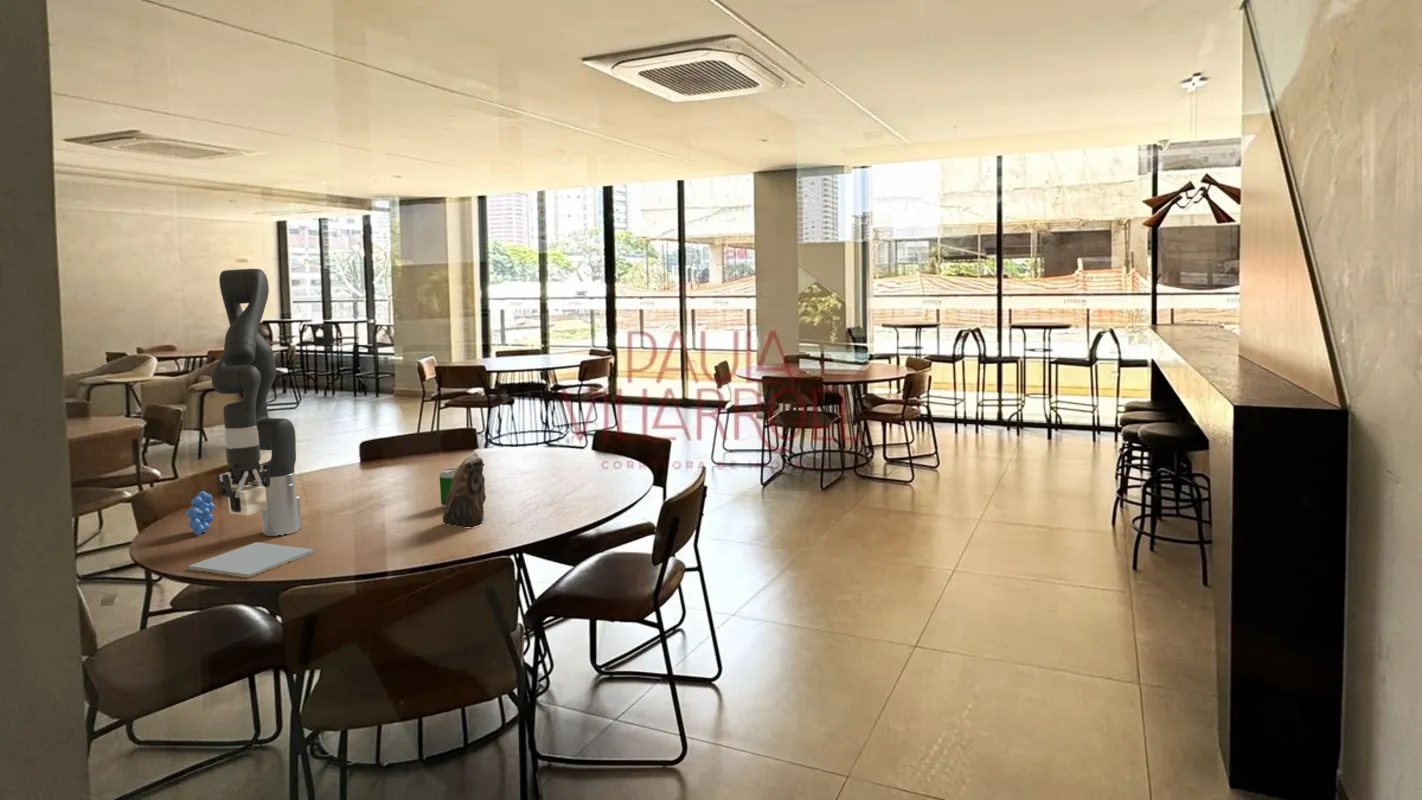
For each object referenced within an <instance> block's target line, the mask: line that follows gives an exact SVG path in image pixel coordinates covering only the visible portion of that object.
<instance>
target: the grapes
mask: <svg viewBox="0 0 1422 800" xmlns="http://www.w3.org/2000/svg"><path fill="white" fill-rule="evenodd" d="M213 499H214V498H213V496H212V494H211V493H207V491H204V490H201V491H200V492H198V493H197V495H196V496H195V497H193V499H192V500H191V501H190V503H191V505H192V507H190V508H189V509H188V510H187V511H186V513H185V515H186V517H187V518H188V519H189V520H190V521H189V522H188V526H189V527H190V528H191V529H192V532H193V533H194V534H195V535H197V536H200V535H201V534H203V533H202V532H204V531H206V532H208V530H210V528H211V526H210V524H211V523H213V521H214V519H215V517H214V515H213V514H212V512H214V510H215V509H216V505H215V504H214V503H213V502H212V501H213ZM204 533H205V532H204Z"/></svg>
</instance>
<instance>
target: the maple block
mask: <svg viewBox="0 0 1422 800" xmlns="http://www.w3.org/2000/svg"><path fill="white" fill-rule="evenodd" d="M235 490H236V489H235ZM234 493H235V491H234ZM239 498H240V505H241V511H240V512H233V511H232V510H231V504H230V498H229V497H227V501H228V512H229V515H238V516H240V515H241V516H250V515H253V514H257V513H262V511H264V510H267V502H266V490H265V487H261V486H259V487H257V486H252V485H251V484H248V485H246V484H245V485H244V487H243V489H241V492H240V495H239Z"/></svg>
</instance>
